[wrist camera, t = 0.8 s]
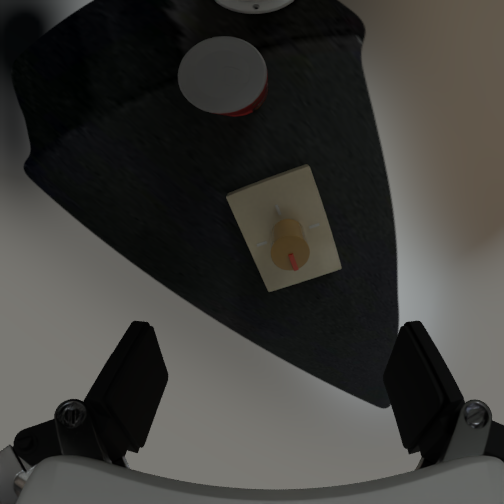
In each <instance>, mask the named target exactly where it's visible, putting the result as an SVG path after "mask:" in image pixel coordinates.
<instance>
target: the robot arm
mask: <svg viewBox="0 0 504 504" xmlns="http://www.w3.org/2000/svg"><path fill="white" fill-rule="evenodd" d="M215 1H216V2H217V3H218V4H219V5H221V6H222V7H224V8H227V9H229V10H231V11H235V12H239V13H246V14H261V13H268V12H272V11H276V10H279V9H281V8H283V7H285V6H287V5H289V4H290V3H292V2H293V1H294V0H215ZM255 8H258V9H255ZM167 381H168V372H167V369H166V366H165V363H164V360H163V357H162V354H161V351H160V347H159V344H158V341H157V338H156V334H155V331H154V328H153V327H152V326H150V325H149V323H148V322H142V321H133V322H132V323H131V325H130V326H129V328H128V329H127V331H126V333H125V334H124V336H123V338H122V339H121V340H120V342H119V344H118V345H117V347H116V348H115V350H114V352H113V353H112V354H111V356H110V358H109V359H108V361H107V362H106V364H105V366H104V367H103V369H102V371H101V372H100V374H99V376H98V377H97V379H96V381H95V383H94V384H93V386H92V387H91V389H90V391H89V393H88V394H87V396H86V398H85V400H84V402H83V401H81V400H78V399H70V400H67V401H64V402H63V403H61V404H60V405H59V406H58V408H57V409H56V411H55V414H54V419H53V420H49V421H47V422H44V423H41V424H38V425H35V426H32V427H29V428H27V429H24V430H22V431H20V432H19V433H18V434H17V435H16V437H15V440H14V446H13V447H12V446H11V445H9V446H7V447H6V448H4V449H3V450H2V451H0V504H504V425H501V424H499V423H497V422H495V421H492V413H491V410H490V408H489V407H488V406H487V405H486V404H485V403H484V402H482V401H480V400H470V401H468V402H466V403H465V401H464V398H463V396H462V394H461V392H460V390H459V388H458V386H457V384H456V382H455V380H454V378H453V376H452V374H451V372H450V371H449V369H448V367H447V365H446V363H445V362H444V360H443V358H442V356H441V354H440V353H439V351H438V349H437V347H436V346H435V344H434V342H433V341H432V339H431V337H430V336H429V334H428V332H427V331H426V329H425V328H424V326H423V324H422V323H421V322H420V321H413V322H412V321H411V322H406V323H405V324H404V326H402V327H401V328H400V330H399V333H398V336H397V339H396V342H395V345H394V348H393V351H392V353H391V356H390V359H389V361H388V364H387V367H386V369H385V372H384V375H383V381H384V384H385V387H386V390H387V393H388V396H389V399H390V403H391V406H392V409H393V412H394V415H395V418H396V422H397V426H398V429H399V432H400V436H401V440H402V443H403V446H404V448H406V449H408V452H409V454H412V453H415V452H419V451H420V452H421V456H422V458H421V460H420V462H419V464H418V466H417V468H416V469H415V471H411V472H407V473H404V474H399V475H395V476H391V477H386V478H382V479H377V480H372V481H367V482H361V483H355V484H349V485H341V486H333V487H323V488H310V489H288V490H263V489H241V488H229V487H219V486H209V485H203V484H196V483H190V482H184V481H179V480H174V479H168V478H164V477H160V476H155V475H151V474H147V473H143V472H139V471H135V470H131V469H130V467H129V465H128V463H127V461H126V459H125V454H126V451H127V450H128V451H132V452H135V453H138V451H139V448H140V447H141V448H142V447H143V446H144V444H145V442H146V439H147V436H148V433H149V431H150V428H151V425H152V422H153V419H154V417H155V414H156V411H157V408H158V405H159V403H160V400H161V397H162V395H163V392H164V389H165V387H166V384H167Z"/></svg>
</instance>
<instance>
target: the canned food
mask: <svg viewBox="0 0 504 504" xmlns="http://www.w3.org/2000/svg"><path fill="white" fill-rule="evenodd" d="M178 83H179V86H180V89H181V91H182V93H183V95H184V96H185V97H186V99H187V100H188V101H189V102H191V103H192V104H193V105H194V106H196V107H198V108H200V109H202V110H204V111H207V112H211V113H215V114H221V115H227V116H243V115H247V114H249V113H252V112H253V111H255V110H257V109H258V108H259V107H260V106H261V105H262V104H263V102H264V101H265V99H266V96H267V93H268V77H267V68H266V64H265V61H264V59H263V57H262V56H261V54H260V53H259V52H258V50H257V49H256V48H255V47H254V46H252V45H251V44H249V43H248V42H246V41H244V40H242V39H239V38H235V37H228V36H220V37H213V38H209V39H206V40H204V41H202V42H200V43H198V44H196V45H195V46H194V47H192V48H191V49H190V50H189V51H188V52H187V53H186V55H185V56H184V58H183V59H182V61H181V64H180V66H179V71H178Z"/></svg>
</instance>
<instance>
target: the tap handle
mask: <svg viewBox="0 0 504 504" xmlns="http://www.w3.org/2000/svg"><path fill="white" fill-rule="evenodd" d="M309 255H310V249H309V245H308V242H307V238H306V235H305V231H304V228H303V226H302V225H301V224H300V223H299V222H298V221H296V220H293V219H283V220H280V221H279V222H277V223H276V224H275V225H274V226H273V228H272V231H271V258H272V261H273V262H274V264H275V265H276V266H277V267H279V268H281V269H283V270H289V271H290V270H294V271H297V270H299V268H301V267H302V266H303V265H305V263H306V262H307V261H308V259H309Z"/></svg>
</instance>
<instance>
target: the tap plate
mask: <svg viewBox="0 0 504 504" xmlns="http://www.w3.org/2000/svg"><path fill="white" fill-rule="evenodd" d="M226 199H227V201H228V203H229V205H230V207H231V210H232V212H233V214H234V216H235V219H236V221H237V223H238V225H239V228H240V230H241V232H242V234H243V236H244V239H245V241H246V243H247V245H248V248H249V250H250V252H251V254H252V256H253V259H254V261H255V263H256V265H257V268H258V270H259V272H260V274H261V276H262V279H263V281H264V283H265V285H266V287H267V290H268V292H271V291H274V290H278V289H281V288H284V287H287V286H291V285H294V284H297V283H300V282H303V281H306V280H309V279H312V278H316V277H319V276H322V275H325V274H328V273H331V272H334V271H337V270H340V269H342V267H341V264H340V260H339V256H338V253H337V249H336V246H335V243H334V239H333V236H332V233H331V229H330V226H329V223H328V220H327V216H326V213H325V210H324V207H323V204H322V201H321V198H320V195H319V192H318V189H317V186H316V183H315V180H314V178H313V175H312V172H311V169H310V166H309V165H308V164H305V165H303V166H300V167H297V168H294V169H291V170H288V171H285V172H283V173H280V174H277V175H274V176H272V177H269V178H266V179H264V180H261V181H258V182H256V183H253V184H250V185H248V186H245V187H243V188H240V189H237V190H235V191H232V192H230V193H228V194H227V196H226ZM283 219H293V220H296V221H298V222H299V223H300V224H301V225H302V226H303V228H304V231H305V235H306V238H307V242H308V245H309V249H310V255H309V259H308V261H307V262H306V263H305V265H303V266H302V267H301V268H299V270H297V271H294V270H290V271H289V270H283V269H281V268H279V267H277V266H276V265H275V264H274V262H273V261H272V258H271V231H272V228H273V226H274V225H275V224H276V223H277V222H279V221H280V220H283Z"/></svg>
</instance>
